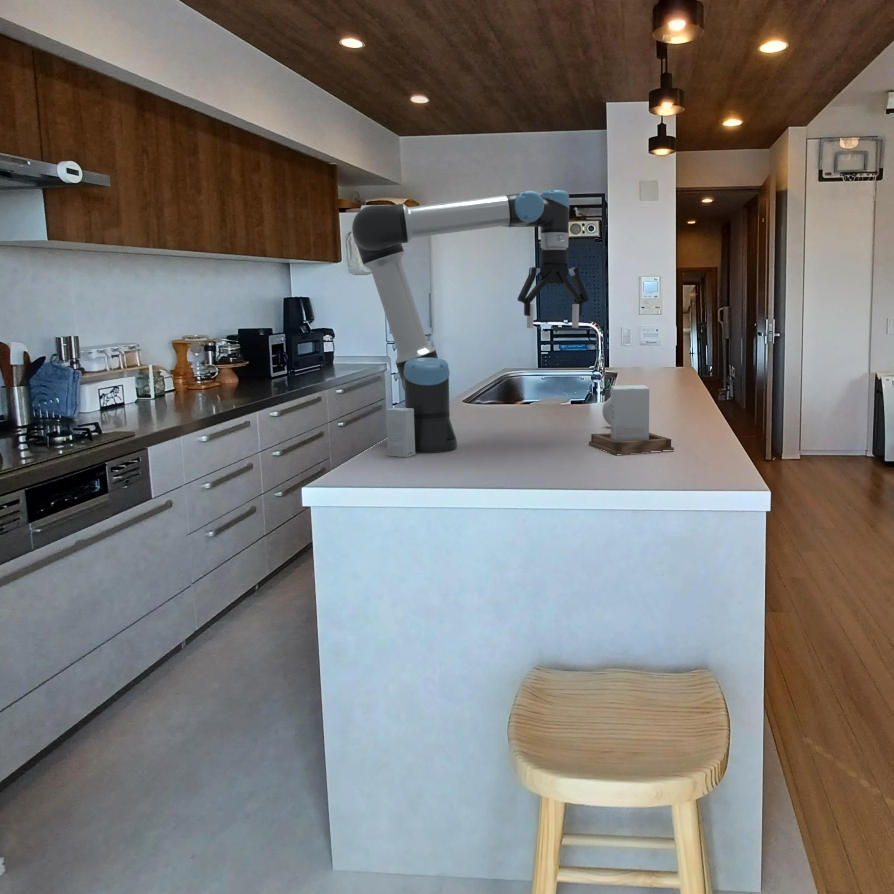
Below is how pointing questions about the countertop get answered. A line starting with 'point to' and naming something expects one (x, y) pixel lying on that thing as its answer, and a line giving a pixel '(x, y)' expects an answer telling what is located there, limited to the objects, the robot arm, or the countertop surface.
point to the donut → (607, 411)
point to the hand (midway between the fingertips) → (552, 328)
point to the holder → (630, 444)
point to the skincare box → (400, 432)
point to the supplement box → (629, 413)
